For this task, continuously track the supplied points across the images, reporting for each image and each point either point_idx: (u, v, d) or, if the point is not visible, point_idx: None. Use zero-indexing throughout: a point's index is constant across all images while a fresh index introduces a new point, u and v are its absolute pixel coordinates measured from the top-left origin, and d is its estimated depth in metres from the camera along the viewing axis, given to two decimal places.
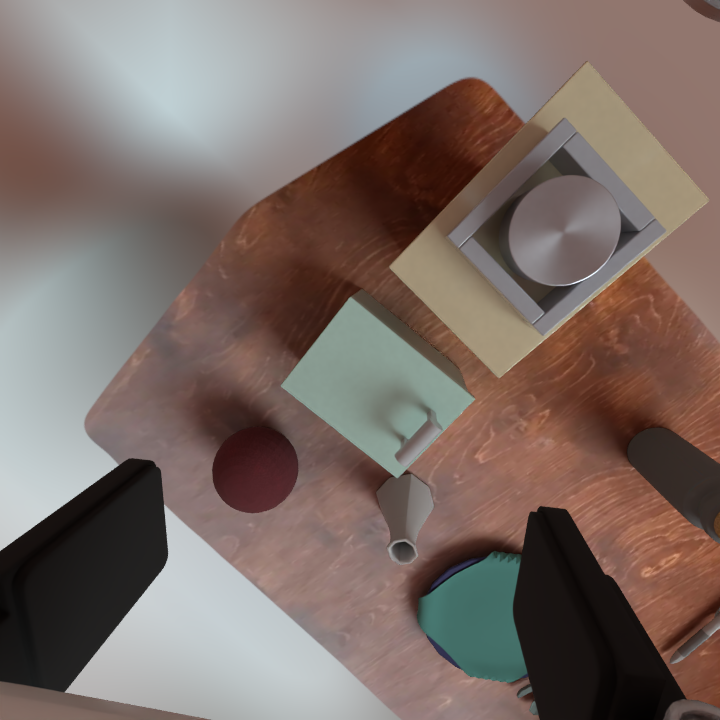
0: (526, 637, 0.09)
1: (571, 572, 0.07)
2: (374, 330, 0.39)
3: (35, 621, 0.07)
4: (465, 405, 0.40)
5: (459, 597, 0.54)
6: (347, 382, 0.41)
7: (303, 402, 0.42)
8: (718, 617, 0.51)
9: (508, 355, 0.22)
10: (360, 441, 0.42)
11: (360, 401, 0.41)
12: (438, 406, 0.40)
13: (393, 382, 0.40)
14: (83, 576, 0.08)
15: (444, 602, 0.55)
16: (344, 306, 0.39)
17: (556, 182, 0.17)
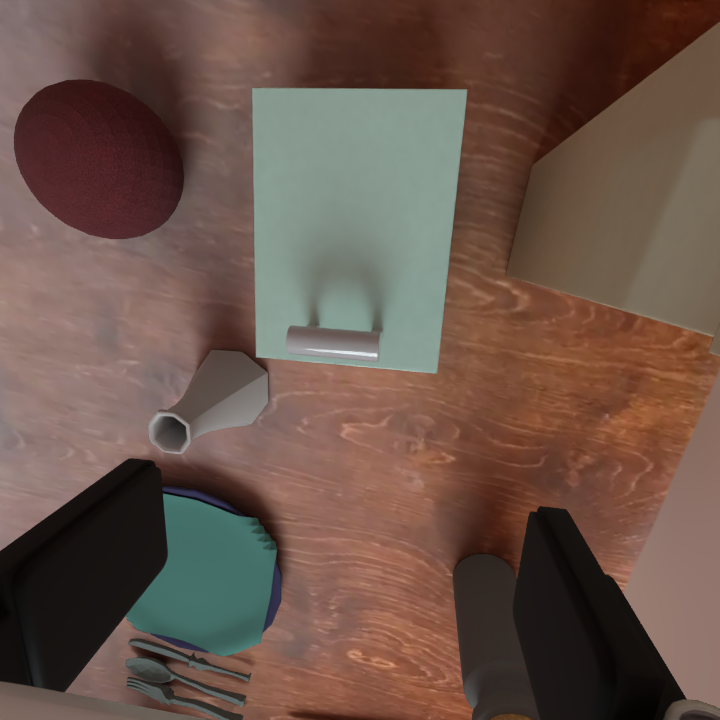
0: (525, 637, 0.09)
1: (571, 572, 0.07)
2: (439, 167, 0.23)
3: (35, 621, 0.07)
4: (419, 368, 0.26)
5: (175, 522, 0.41)
6: (334, 187, 0.24)
7: (255, 145, 0.24)
8: None
9: None
10: (265, 272, 0.25)
11: (321, 227, 0.24)
12: (392, 336, 0.25)
13: (382, 253, 0.24)
14: (83, 576, 0.08)
15: None
16: (446, 92, 0.22)
17: None
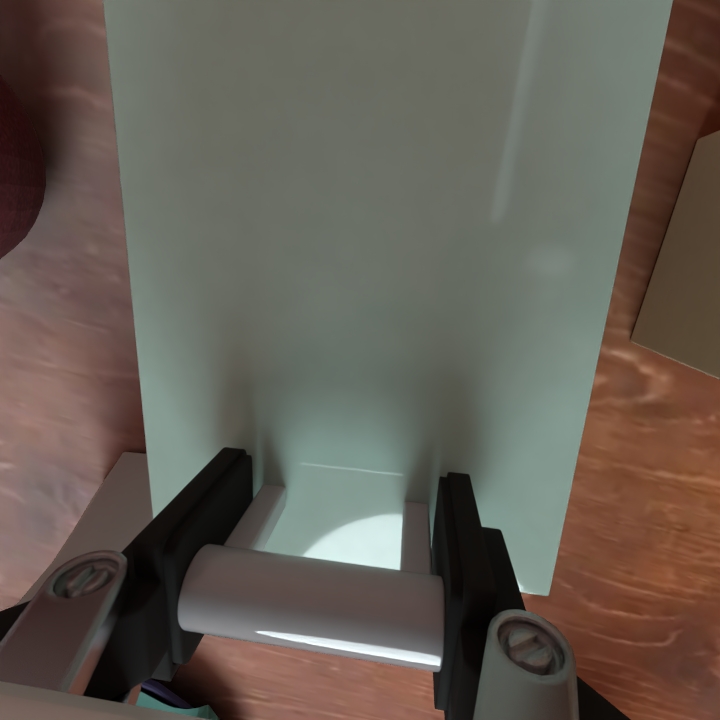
0: None
1: (453, 520, 0.08)
2: (592, 126, 0.08)
3: (177, 589, 0.08)
4: None
5: None
6: (314, 180, 0.09)
7: (116, 75, 0.09)
8: None
9: None
10: (162, 374, 0.11)
11: (285, 277, 0.10)
12: None
13: (432, 339, 0.10)
14: None
15: None
16: None
17: None
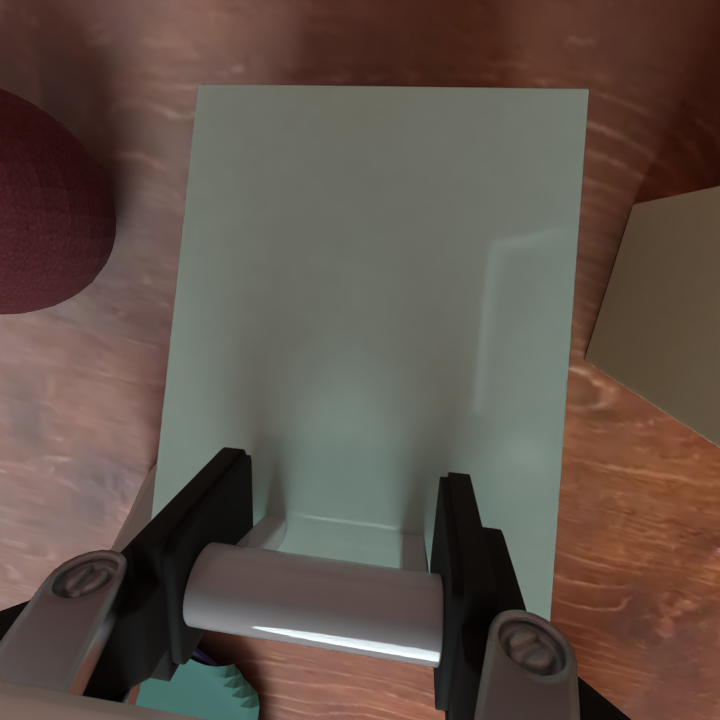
0: None
1: (454, 520, 0.08)
2: (540, 218, 0.12)
3: (177, 589, 0.08)
4: None
5: None
6: (334, 248, 0.12)
7: (192, 173, 0.13)
8: None
9: None
10: (185, 403, 0.13)
11: (304, 321, 0.12)
12: None
13: (426, 374, 0.12)
14: None
15: None
16: (550, 93, 0.12)
17: None
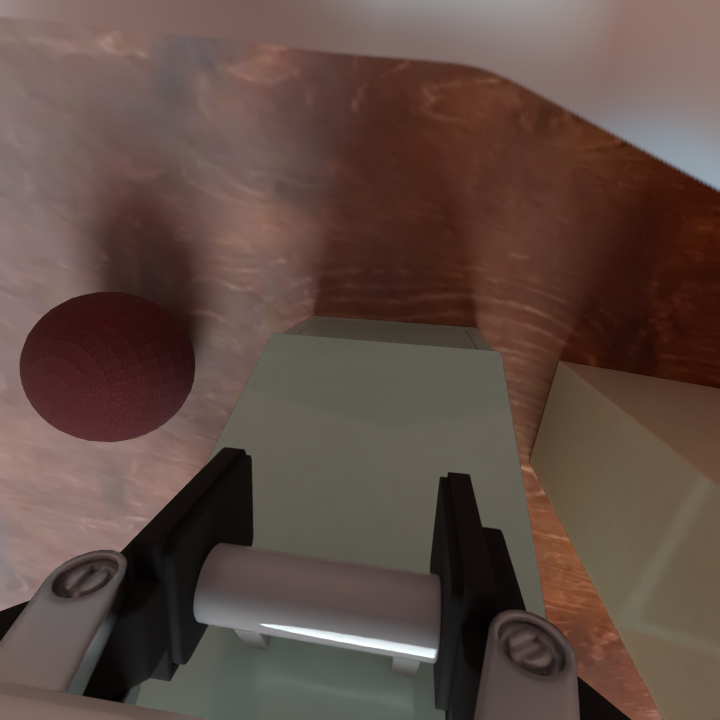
0: None
1: (453, 520, 0.08)
2: (485, 404, 0.18)
3: (177, 589, 0.08)
4: None
5: None
6: (346, 411, 0.17)
7: (257, 369, 0.20)
8: None
9: None
10: None
11: (319, 453, 0.16)
12: None
13: (413, 494, 0.14)
14: (205, 551, 0.09)
15: None
16: (479, 351, 0.20)
17: None
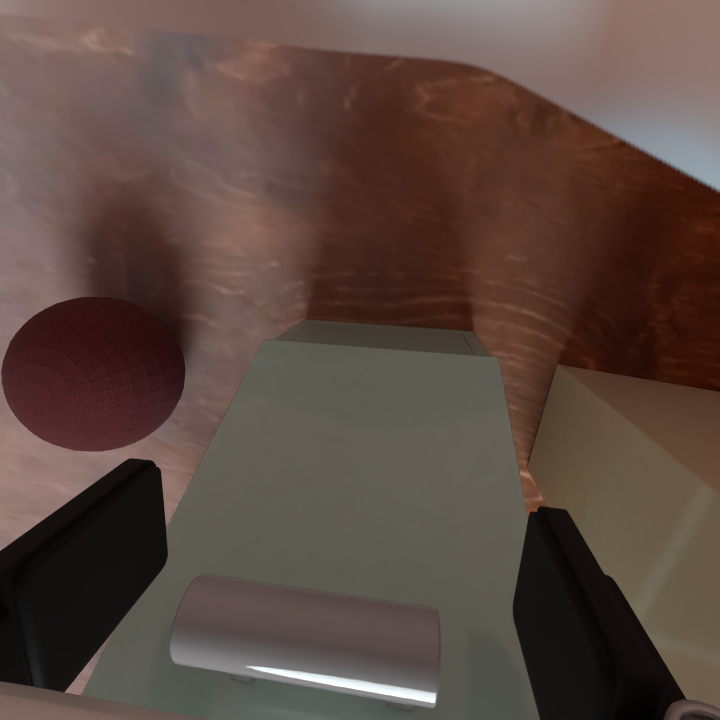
0: (525, 637, 0.09)
1: (571, 572, 0.07)
2: (483, 413, 0.17)
3: (35, 621, 0.07)
4: None
5: None
6: (339, 422, 0.17)
7: (247, 377, 0.19)
8: None
9: None
10: (189, 526, 0.13)
11: (311, 466, 0.15)
12: (441, 700, 0.10)
13: (409, 510, 0.14)
14: (83, 576, 0.08)
15: None
16: (476, 357, 0.20)
17: None
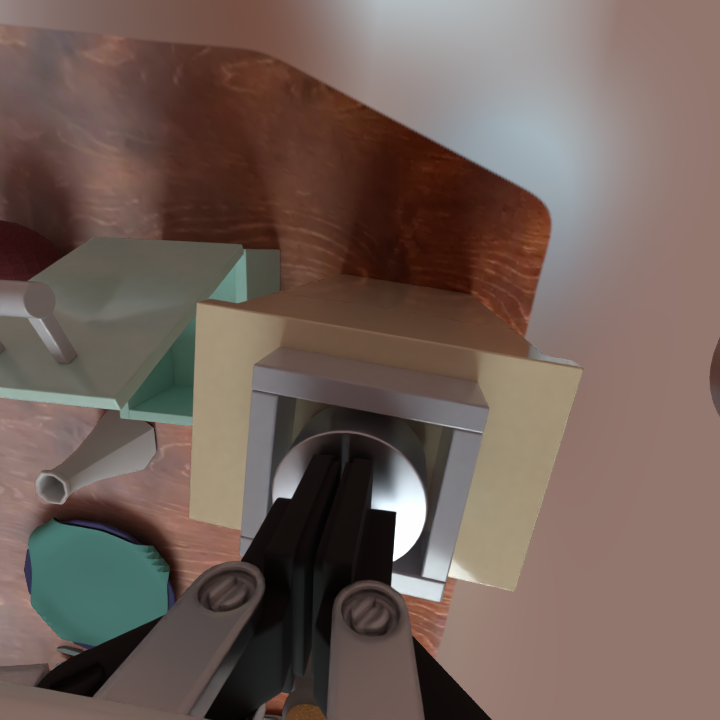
0: None
1: (340, 501, 0.09)
2: (205, 268, 0.27)
3: (302, 600, 0.08)
4: (94, 392, 0.18)
5: (87, 548, 0.49)
6: (112, 272, 0.27)
7: (69, 253, 0.29)
8: None
9: (218, 511, 0.16)
10: None
11: (81, 289, 0.25)
12: (85, 361, 0.20)
13: (124, 304, 0.24)
14: None
15: (70, 541, 0.49)
16: (227, 244, 0.30)
17: (394, 457, 0.11)
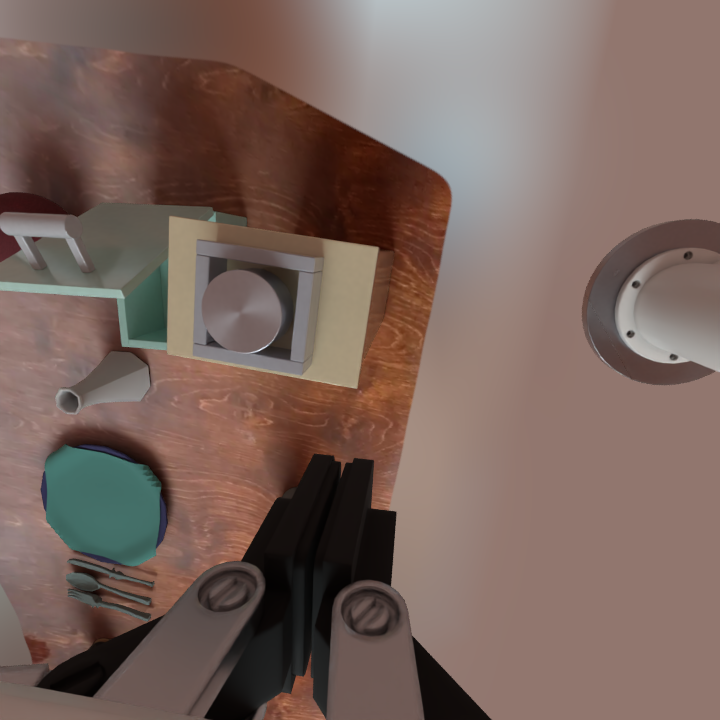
0: None
1: (340, 501, 0.09)
2: None
3: (303, 600, 0.08)
4: (108, 286, 0.29)
5: (93, 469, 0.59)
6: (117, 224, 0.37)
7: (84, 213, 0.39)
8: None
9: (184, 347, 0.26)
10: (35, 246, 0.34)
11: (95, 234, 0.36)
12: (100, 272, 0.30)
13: (126, 242, 0.34)
14: None
15: (80, 463, 0.59)
16: None
17: (262, 283, 0.21)
